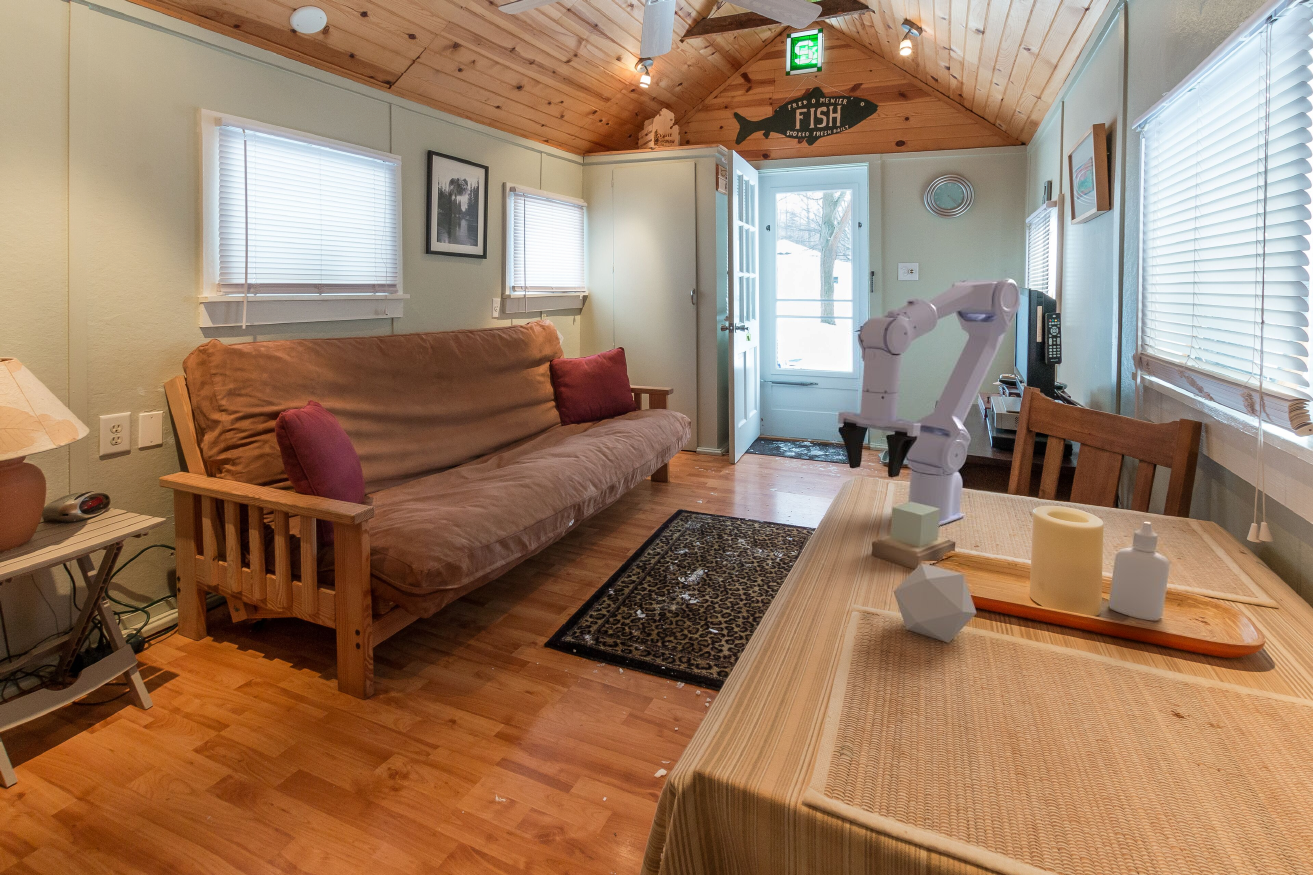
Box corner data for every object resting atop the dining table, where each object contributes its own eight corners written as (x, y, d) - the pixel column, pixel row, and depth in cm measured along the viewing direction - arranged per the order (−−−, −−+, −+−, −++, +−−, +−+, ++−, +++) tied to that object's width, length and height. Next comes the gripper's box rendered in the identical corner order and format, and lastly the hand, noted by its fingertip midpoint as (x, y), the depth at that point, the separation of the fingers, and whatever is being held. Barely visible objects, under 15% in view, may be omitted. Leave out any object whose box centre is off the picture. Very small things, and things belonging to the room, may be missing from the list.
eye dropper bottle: (1128, 601, 94) (1140, 514, 92) (1168, 620, 89) (1182, 528, 87) (1101, 605, 93) (1113, 517, 91) (1141, 624, 88) (1155, 531, 85)
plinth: (908, 541, 117) (909, 526, 117) (954, 555, 111) (955, 539, 110) (871, 554, 111) (872, 539, 111) (917, 570, 105) (919, 553, 104)
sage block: (908, 531, 114) (910, 501, 113) (937, 540, 110) (940, 508, 109) (890, 538, 111) (892, 507, 110) (919, 547, 107) (922, 515, 106)
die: (984, 637, 86) (956, 560, 90) (985, 631, 78) (955, 547, 82) (915, 653, 88) (890, 576, 92) (910, 648, 81) (884, 565, 85)
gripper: (829, 387, 121) (823, 466, 123) (905, 398, 110) (897, 484, 112) (854, 385, 125) (849, 461, 128) (930, 395, 114) (922, 478, 116)
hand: (873, 471), depth 120 cm, fingers open, 7 cm apart
